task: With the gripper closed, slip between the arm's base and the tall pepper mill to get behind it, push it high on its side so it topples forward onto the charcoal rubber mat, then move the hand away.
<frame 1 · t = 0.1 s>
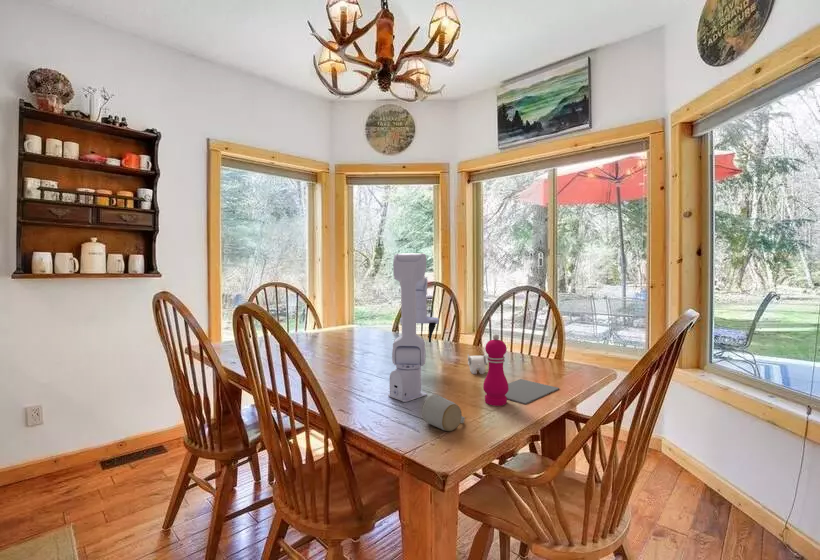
hand: (419, 341, 157), 11 cm above the table, tool pointing down, fingers open, 7 cm apart
pepper mill: (495, 403, 119), on the table
ceramic mug: (445, 426, 103), on the table
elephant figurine: (476, 372, 152), on the table
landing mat: (522, 391, 129), on the table
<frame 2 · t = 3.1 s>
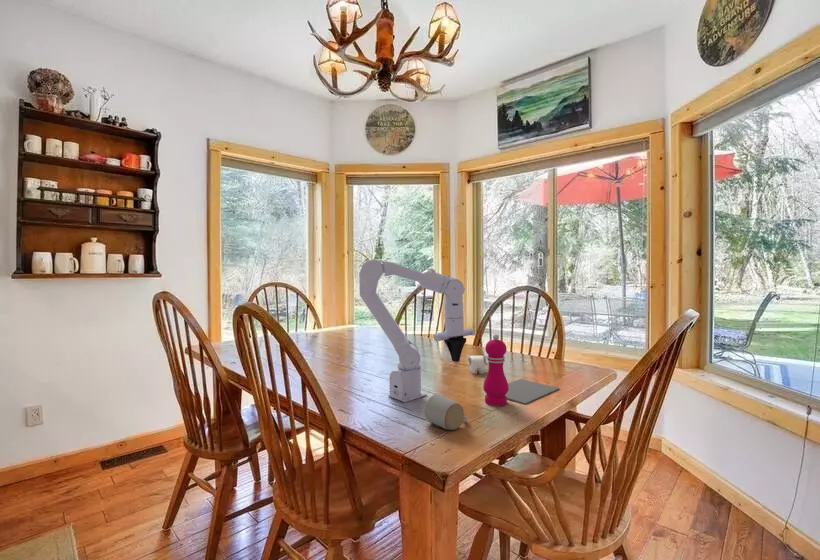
hand: (455, 361, 126), 10 cm above the table, tool pointing down, fingers closed
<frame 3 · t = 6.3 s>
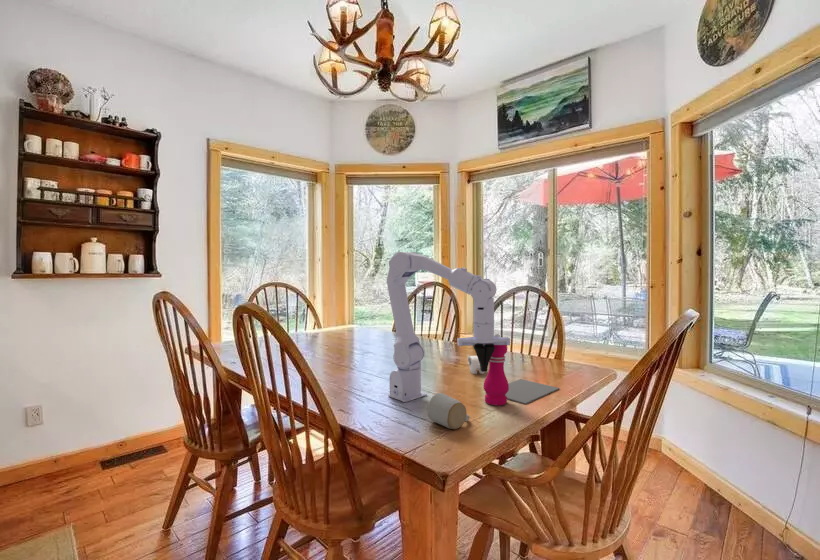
hand: (483, 370, 115), 10 cm above the table, tool pointing down, fingers closed
pepper mill: (495, 402, 119), on the table, touching gripper
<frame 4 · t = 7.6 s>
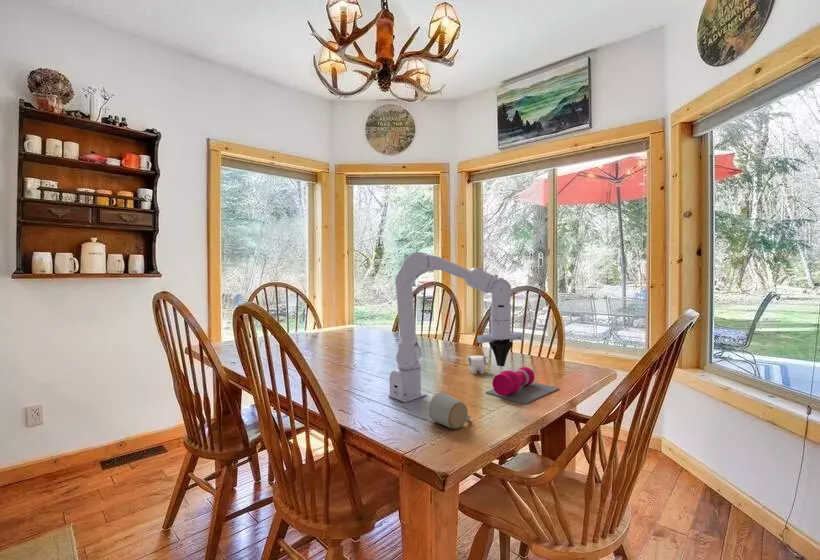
hand: (500, 365, 120), 10 cm above the table, tool pointing down, fingers closed
pepper mill: (501, 385, 122), point 4 cm above the table, touching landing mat
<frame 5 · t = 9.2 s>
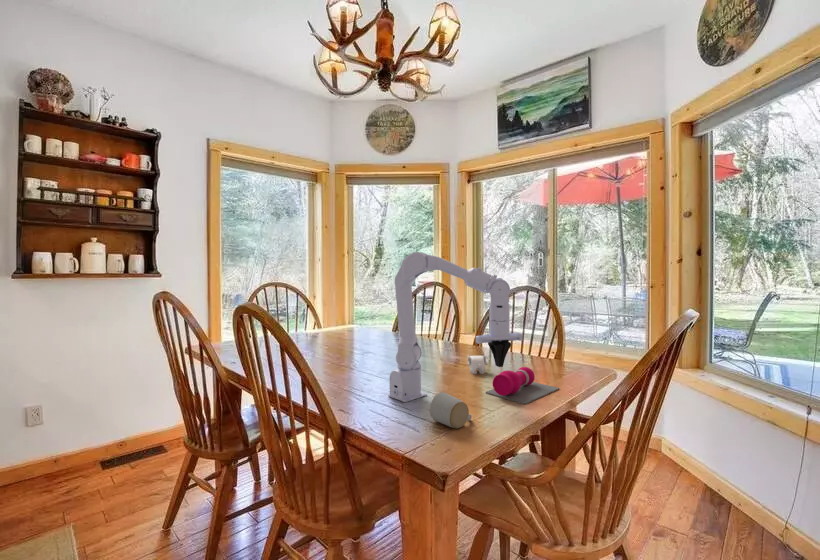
hand: (499, 366, 120), 10 cm above the table, tool pointing down, fingers closed
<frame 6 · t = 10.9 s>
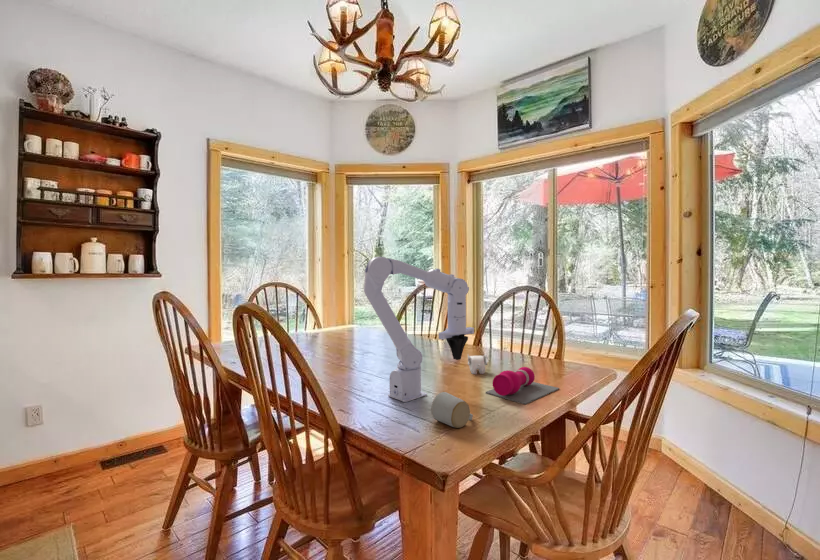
hand: (457, 359, 129), 10 cm above the table, tool pointing down, fingers closed
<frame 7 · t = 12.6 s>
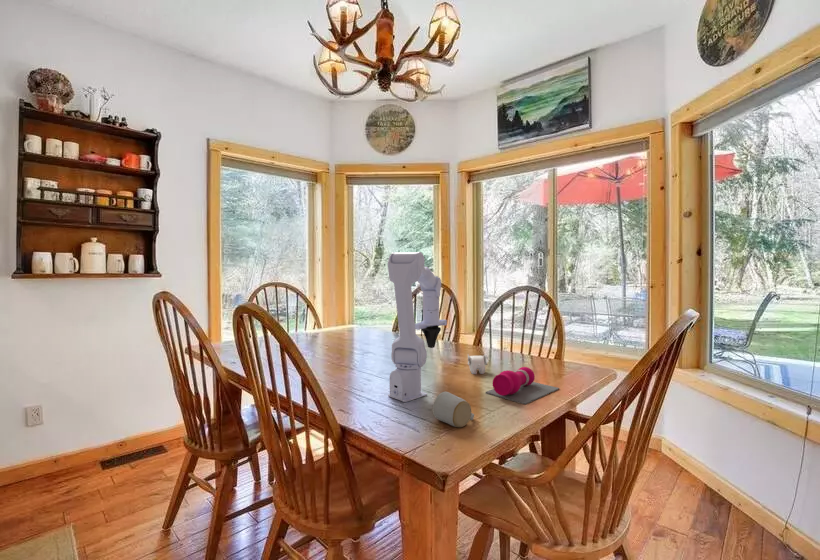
hand: (431, 347, 146), 10 cm above the table, tool pointing down, fingers closed
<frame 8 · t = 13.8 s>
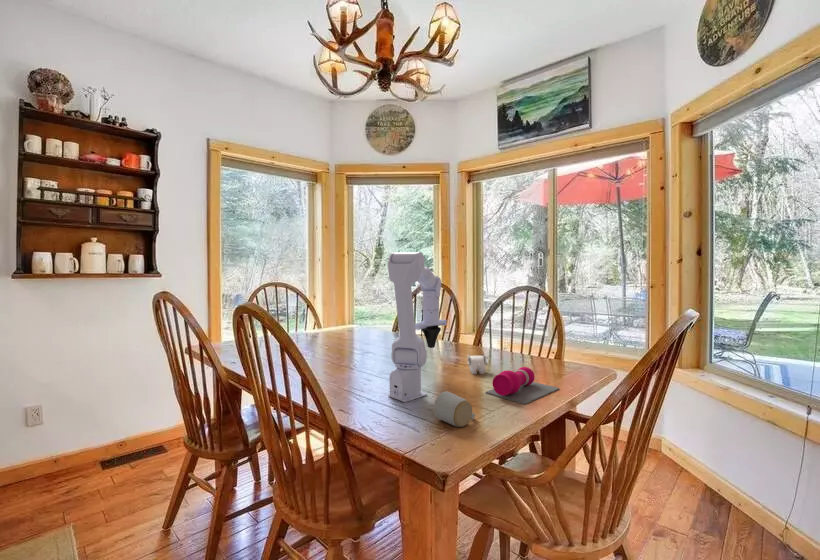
hand: (431, 347, 146), 10 cm above the table, tool pointing down, fingers closed
at the end: pepper mill tilted 93°; pepper mill touching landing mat; pepper mill inside the target area (2.8 cm from its centre), point 4.3 cm above the table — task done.
